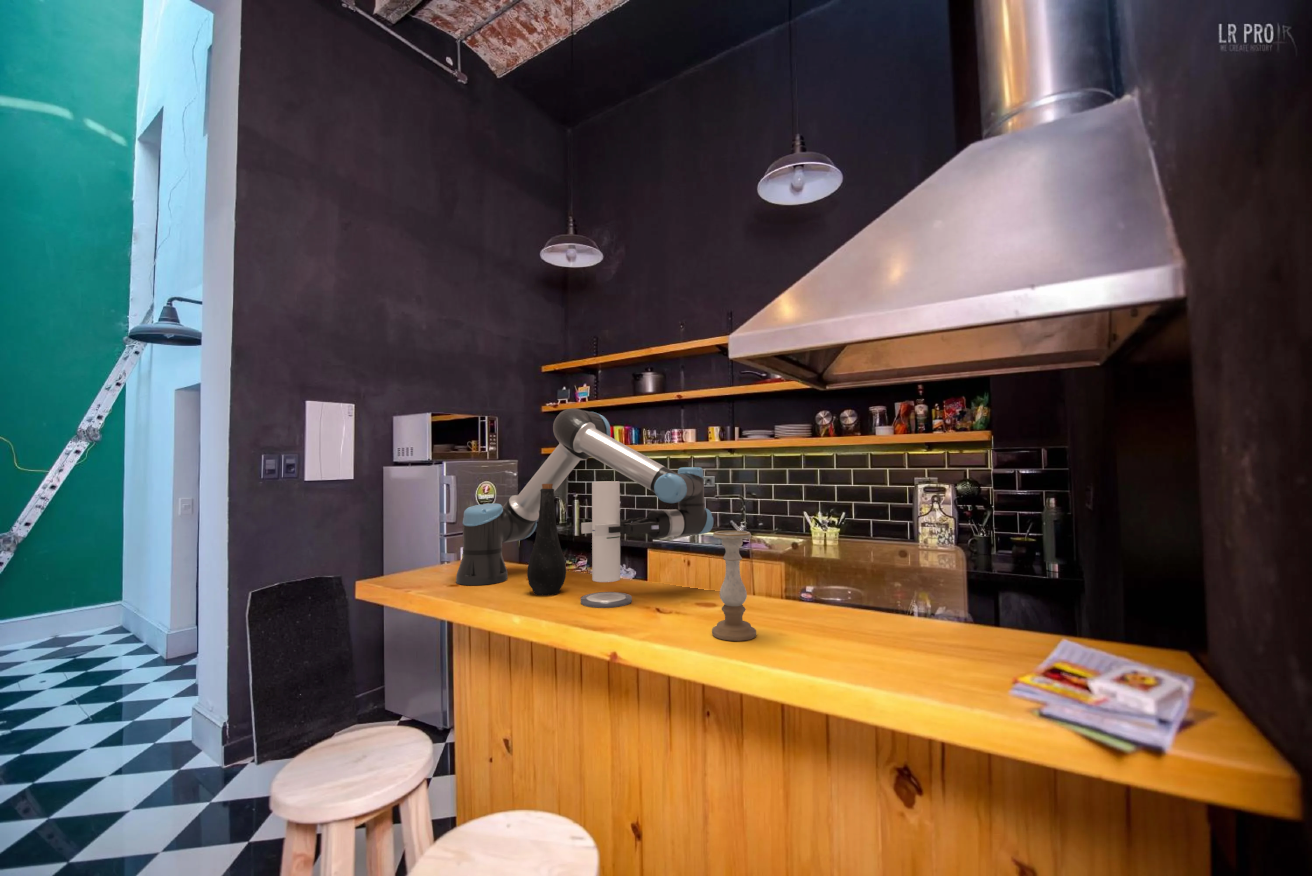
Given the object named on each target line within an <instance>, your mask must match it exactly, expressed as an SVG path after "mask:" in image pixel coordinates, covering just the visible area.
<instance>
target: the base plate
mask: <svg viewBox="0 0 1312 876" xmlns="http://www.w3.org/2000/svg"><path fill="white" fill-rule="evenodd" d="M632 602H633V596H632V595H630V594H629V593H626V592H625V593H624V592H617V591H604V592H601V591H600V592H593V593H589V594H585V595H583V596H581V597H580V604H581V605H582V606H584V607H588V608H595V609H596V608H597V609H609V608H619V607H623V606H624V607H625V606H628V605H629V604H631V603H632Z"/></svg>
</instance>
